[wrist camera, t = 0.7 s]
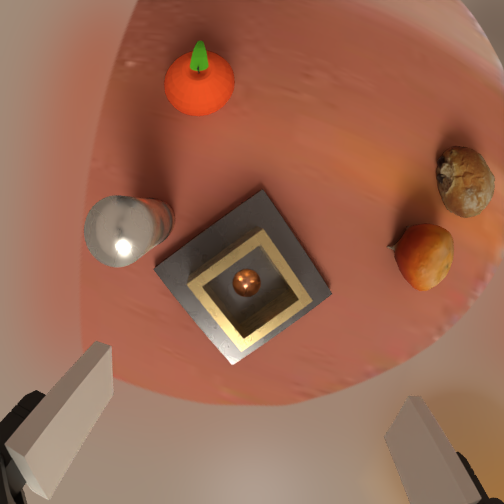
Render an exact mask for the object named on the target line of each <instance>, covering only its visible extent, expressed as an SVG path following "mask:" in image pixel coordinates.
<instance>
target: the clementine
mask: <svg viewBox="0 0 504 504" xmlns="http://www.w3.org/2000/svg"><path fill="white" fill-rule="evenodd" d="M234 84H235V81H234V74H233V70H232V68H231V66H230V65H229V63H228V62H227V61H226V60H225V59H224V58H222V57H221V56H219V55H218V54H216V53H213V52H210V51H206V49H205V46H204V43H203V41H198V42H197V43H196V45H195V48H194V50H193V51H191V52H189V53H186V54H183V55H182V56H180V57H179V58H177V59H176V60H175V62H174V63H173V64H172V65H171V66H170V67H169V69H168V71H167V73H166V76H165V81H164V87H165V94H166V96H167V98H168V100H169V102H170V103H171V104H172V105H173V106H174V107H175V108H176V109H177V110H179V111H180V112H182V113H184V114H188V115H191V116H203V115H209V114H211V113H214V112H216V111H218V110H219V109H220V108H222V107H223V106H224V105H225V104H226V102H227V101H228V100H229V99H230V97H231V95H232V93H233V90H234Z"/></svg>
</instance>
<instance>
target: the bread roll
mask: <svg viewBox="0 0 504 504" xmlns="http://www.w3.org/2000/svg"><path fill="white" fill-rule="evenodd" d="M437 163H438V167H437V170H436V172H437V182H438V189H439V192H440V194H441V197H442V201H443V203H444V204H445V206H446V208H447V210H449V211H450V212H452V213H454V214H456V215H458V216H460V217H464V218H468V217H472V216H476V215H478V214H480V213H481V211H482V210H483V209H484V208H485V207H486V206H487V205H488V203H489V202H490V200H491V198H492V196H493V193H494V188H495V185H494V181H495V178H494V175H493V174H492V172H491V171H490V169H489V167H488V165H487V164H486V162H485V160H484V158H483V157H482V156H481V155H480V154H479V153H477V152H476V151H474V150H473V149H470V148H467V147H460V146H454V147H451V148H449V149H448V150H446V151H445V152H444V153H443V155H442V156H441V157H440V158H439V159H438V161H437Z"/></svg>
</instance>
